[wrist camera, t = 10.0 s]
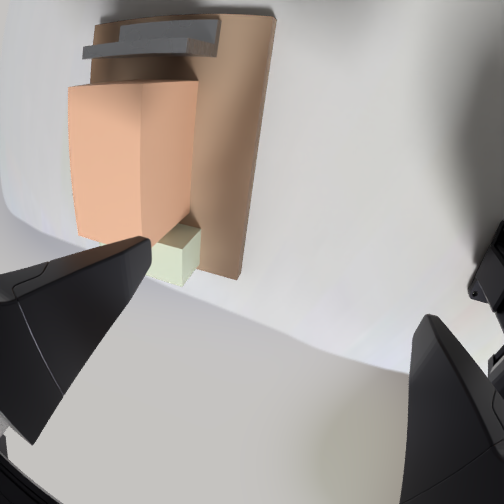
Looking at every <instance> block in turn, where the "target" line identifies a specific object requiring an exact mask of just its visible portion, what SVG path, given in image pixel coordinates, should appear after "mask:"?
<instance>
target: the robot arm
mask: <svg viewBox="0 0 504 504" xmlns="http://www.w3.org/2000/svg"><path fill="white" fill-rule="evenodd" d="M151 263H152V248H151V240H150V239H149V238H146V237H143V236H136V237H132V238H128V239H125V240H121V241H117V242H114V243H110V244H106V245H103V246H99V247H96V248H92V249H89V250H85V251H82V252H79V253H75V254H71V255H68V256H65V257H61V258H58V259H55V260H51V261H50V262H44V263H41V264H38V265H34V266H31V267H28V268H24V269H20V270H16V271H13V272H8V273H4V274H0V504H63V503H61V502H60V501H59V500H57V499H56V498H54V497H53V496H52V495H50V494H49V493H48V492H47V491H45V490H44V489H43V488H41V487H40V486H39V485H38V484H36V483H35V482H34V481H33V480H31V479H30V478H29V477H28V476H27V475H25V474H24V473H23V472H22V471H21V470H20V469H18V468H17V467H16V466H15V465H14V464H13V463H12V462H11V461H10V460H9V459H8V456H7V446H6V437H5V436H4V435H3V433H4V432H5V431H6V429H7V428H8V427H9V426H10V427H11V428H12V429H13V430H14V431H16V432H17V433H18V434H19V435H20V436H21V437H23V438H24V439H25V440H26V441H27V442H29V443H30V444H31V445H33V444H34V443H35V442H36V440H37V438H38V437H39V435H40V433H41V432H42V430H43V429H44V427H45V425H46V424H47V422H48V420H49V419H50V417H51V415H52V414H53V412H54V411H55V409H56V407H57V406H58V404H59V403H60V401H61V400H62V398H63V395H64V394H65V393H66V392H67V390H68V389H69V387H70V385H71V384H72V383H73V381H74V379H75V378H76V377H77V375H78V373H79V372H80V371H81V369H82V368H83V366H84V365H85V363H86V361H87V360H88V359H89V357H90V356H91V354H92V353H93V352H94V350H95V349H96V347H97V346H98V344H99V343H100V342H101V340H102V339H103V337H104V336H105V334H106V333H107V332H108V330H109V329H110V327H111V326H112V325H113V323H114V322H115V320H116V319H117V318H118V316H119V315H120V314H121V312H122V311H123V309H124V308H125V307H126V305H127V304H128V303H129V301H130V300H131V298H132V296H133V295H134V293H135V292H136V290H137V288H138V286H139V284H140V283H141V281H142V280H143V278H144V276H145V275H146V273H147V271H148V270H149V268H150V266H151ZM475 291H476V292H475ZM473 292H475V293H474V294H472V293H473ZM468 294H469V297H470V298H471V299H473V300H477V301H481V302H484V303H488V304H489V305H490V307H491V310H492V311H493V312H494V313H495V315H496V317H497V319H498V321H499V324H500V326H501V328H502V331H503V333H504V221H502V222H501V223H500V225H499V227H498V230H497V232H496V235H495V237H494V239H493V241H492V244H491V246H490V247H489V249H488V251H487V253H486V255H485V257H484V259H483V261H482V263H481V265H480V267H479V269H478V271H477V273H476V277H475V279H474V281H473V283H472V284H471V286H470V288H469V290H468ZM408 404H409V405H408V427H407V442H406V455H405V465H404V475H403V482H402V490H401V497H400V503H399V504H504V345H503V346H502V347H501V348H500V350H499V351H498V352H497V353H496V354H494V355H493V356H492V357H491V358H490V359H489V360H488V378H487V376H486V375H485V374H484V372H483V371H482V370H481V369H480V367H479V366H478V365H477V363H476V362H475V361H474V360H473V358H472V357H471V356H470V354H469V353H468V352H467V351H466V349H465V348H464V347H463V346H462V345H461V343H460V342H459V341H458V340H457V338H456V337H455V336H454V335H453V334H452V332H451V331H450V330H449V329H448V328H447V326H446V325H445V324H444V323H443V322H442V321H441V319H440V318H439V317H438V316H435V315H431V314H426V315H425V316H424V317H423V319H422V321H421V322H420V324H419V326H418V328H417V329H416V331H415V333H414V335H413V340H412V353H411V364H410V374H409V402H408Z"/></svg>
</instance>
